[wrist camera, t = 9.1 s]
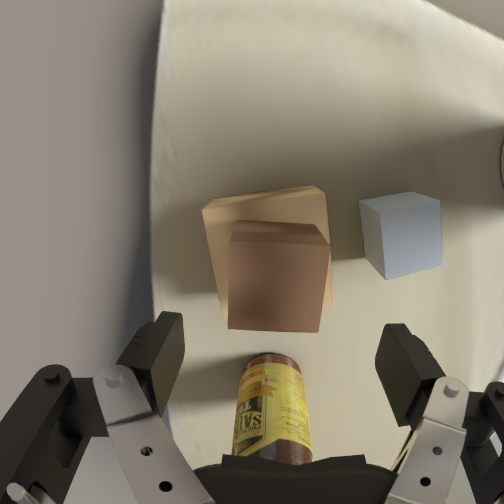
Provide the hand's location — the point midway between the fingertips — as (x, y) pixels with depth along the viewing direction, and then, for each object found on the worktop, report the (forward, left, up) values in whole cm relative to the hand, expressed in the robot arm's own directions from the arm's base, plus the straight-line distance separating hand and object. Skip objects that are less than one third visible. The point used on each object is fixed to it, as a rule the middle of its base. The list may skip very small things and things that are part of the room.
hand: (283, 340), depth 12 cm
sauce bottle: (-1, +14, -15) cm, 20 cm away
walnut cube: (0, 0, -10) cm, 10 cm away
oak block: (0, 0, -15) cm, 15 cm away
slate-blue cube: (-10, -2, -14) cm, 18 cm away
